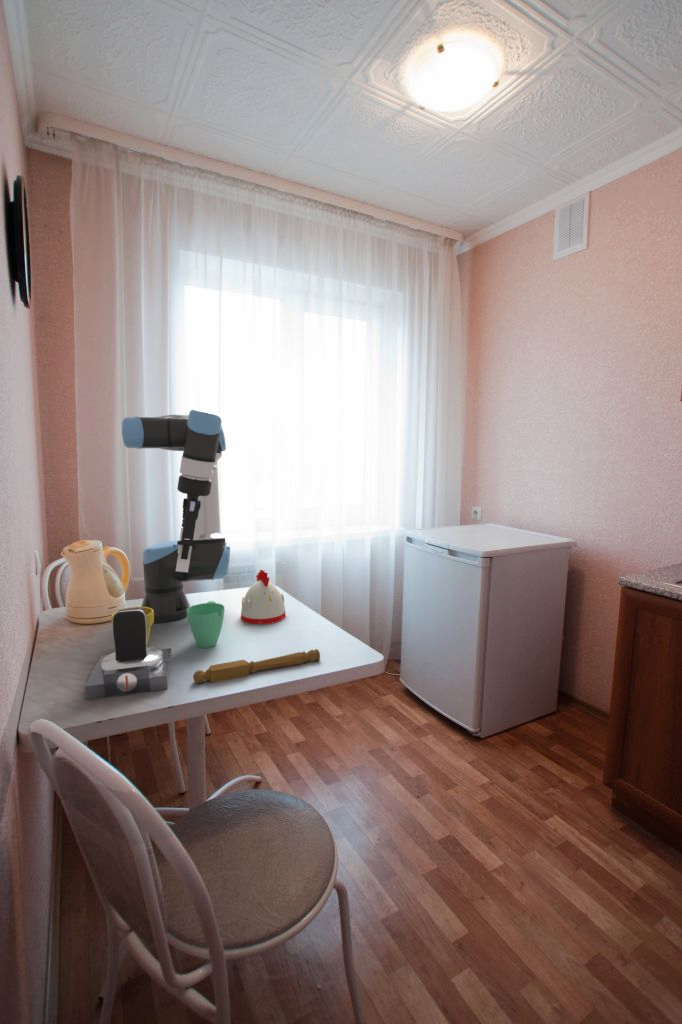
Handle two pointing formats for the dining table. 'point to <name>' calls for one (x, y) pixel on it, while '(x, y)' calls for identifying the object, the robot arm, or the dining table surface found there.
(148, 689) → the scale
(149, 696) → the dining table surface
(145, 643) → the battery charger
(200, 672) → the turned wooden baluster
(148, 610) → the plant pot
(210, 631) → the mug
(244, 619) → the kitchen timer
